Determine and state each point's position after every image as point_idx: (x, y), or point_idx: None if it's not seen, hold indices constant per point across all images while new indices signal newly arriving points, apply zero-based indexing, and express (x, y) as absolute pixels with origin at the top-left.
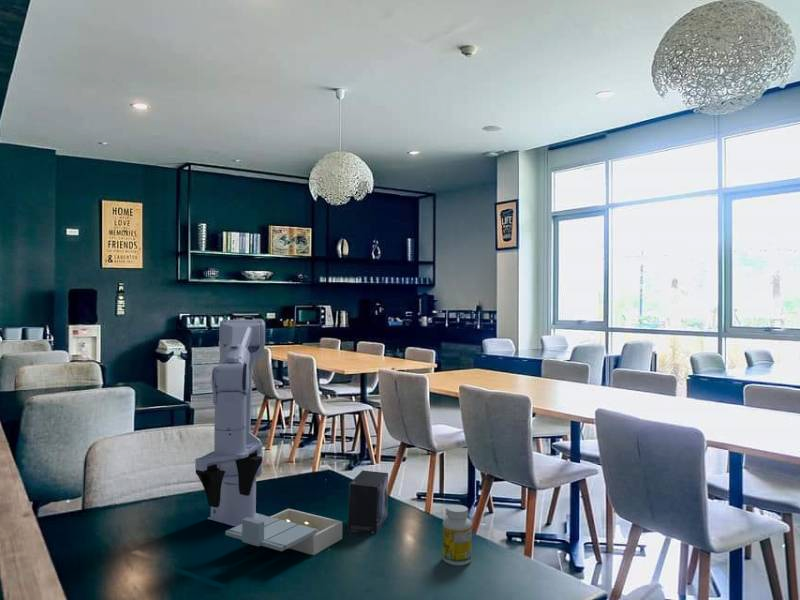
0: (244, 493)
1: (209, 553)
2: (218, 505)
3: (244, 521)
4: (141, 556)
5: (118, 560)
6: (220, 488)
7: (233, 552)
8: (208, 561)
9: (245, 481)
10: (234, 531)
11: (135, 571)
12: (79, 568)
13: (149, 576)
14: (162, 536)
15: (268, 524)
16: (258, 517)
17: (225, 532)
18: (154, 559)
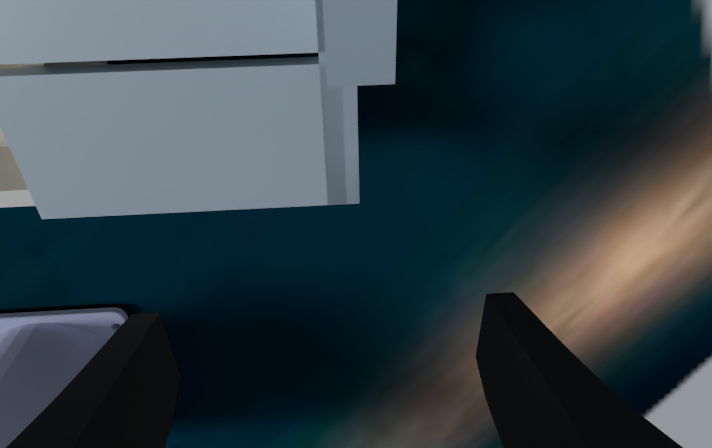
0: (163, 349)
1: (353, 222)
2: (497, 299)
3: (394, 53)
4: None
5: None
6: (573, 414)
7: None
8: (411, 169)
9: (120, 446)
10: (331, 161)
11: (589, 293)
12: None
13: (607, 234)
14: (349, 418)
15: (99, 71)
16: (86, 211)
17: (358, 199)
18: None
